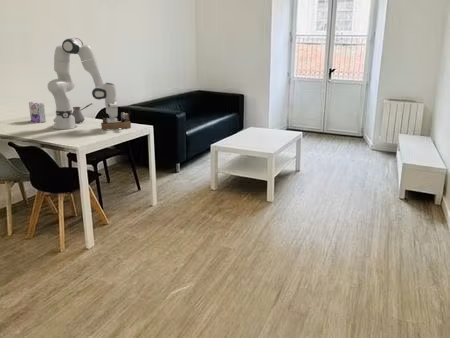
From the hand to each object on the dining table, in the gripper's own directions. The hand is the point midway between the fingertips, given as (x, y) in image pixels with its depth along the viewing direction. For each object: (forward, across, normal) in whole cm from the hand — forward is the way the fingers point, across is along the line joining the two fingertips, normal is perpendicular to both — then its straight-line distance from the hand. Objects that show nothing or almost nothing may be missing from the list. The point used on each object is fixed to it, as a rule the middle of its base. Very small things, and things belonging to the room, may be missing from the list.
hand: (111, 120), depth 328 cm
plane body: (+6, 0, +3) cm, 7 cm away
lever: (+1, +5, +9) cm, 10 cm away
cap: (+1, 0, 0) cm, 1 cm away
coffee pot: (+7, -39, -15) cm, 42 cm away
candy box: (+7, -54, -49) cm, 73 cm away
